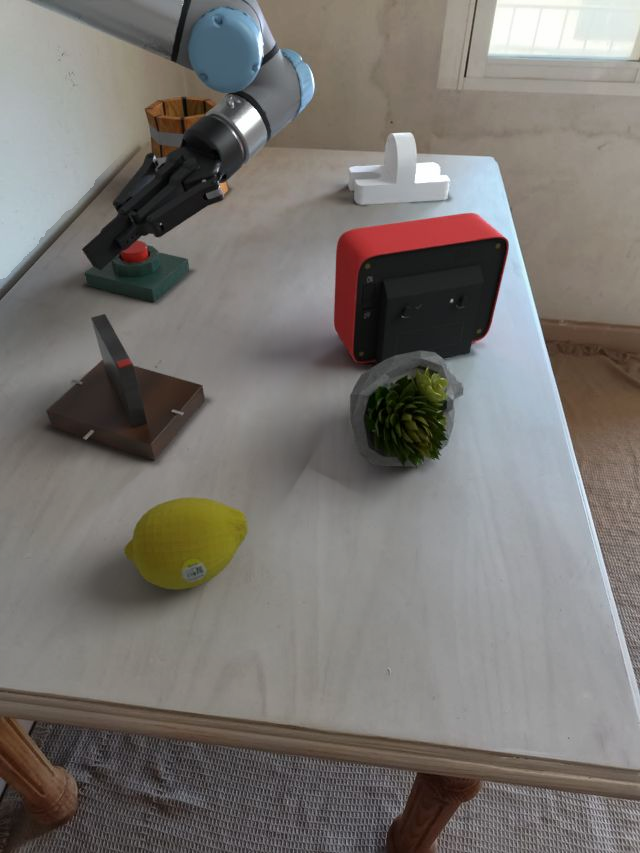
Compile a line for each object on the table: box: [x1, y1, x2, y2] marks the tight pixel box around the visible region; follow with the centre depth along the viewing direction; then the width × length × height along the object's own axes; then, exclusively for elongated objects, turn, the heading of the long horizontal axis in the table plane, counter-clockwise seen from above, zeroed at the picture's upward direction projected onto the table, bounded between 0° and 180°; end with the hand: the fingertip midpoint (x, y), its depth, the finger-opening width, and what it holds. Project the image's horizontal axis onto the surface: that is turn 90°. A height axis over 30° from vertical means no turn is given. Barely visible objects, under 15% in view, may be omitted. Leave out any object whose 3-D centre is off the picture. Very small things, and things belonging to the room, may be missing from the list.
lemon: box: [124, 497, 248, 591], centre depth 56 cm, size 11×8×8 cm
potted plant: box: [349, 350, 464, 470], centre depth 66 cm, size 12×13×15 cm
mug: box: [144, 95, 230, 196], centre depth 119 cm, size 20×14×15 cm
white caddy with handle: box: [347, 132, 451, 206], centre depth 119 cm, size 10×18×11 cm, turn 99°
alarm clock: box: [333, 212, 510, 365], centre depth 80 cm, size 10×20×16 cm, turn 108°
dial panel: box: [45, 359, 206, 461], centre depth 74 cm, size 15×15×3 cm
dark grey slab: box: [90, 313, 147, 427], centre depth 70 cm, size 11×2×8 cm, turn 29°
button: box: [120, 240, 149, 263], centre depth 94 cm, size 4×4×2 cm
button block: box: [83, 244, 190, 303], centre depth 96 cm, size 12×10×4 cm
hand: (91, 259), depth 73 cm, fingers closed
